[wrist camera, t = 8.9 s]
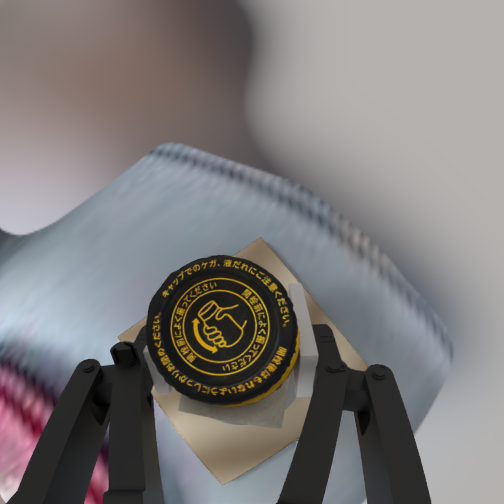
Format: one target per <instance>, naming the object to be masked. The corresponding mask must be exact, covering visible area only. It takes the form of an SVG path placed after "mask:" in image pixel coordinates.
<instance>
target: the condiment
mask: <svg viewBox="0 0 504 504" xmlns="http://www.w3.org/2000/svg"><path fill="white" fill-rule="evenodd" d="M293 306H294V305H293V303H292V301H291V299H290V298H289V297H288V293H287V291H286V289H285V288H284V286H283V285H282V284H281V282H280V281H279V280H278V279H277V278H276V277H275V276H274V275H272V274H271V273H270V272H268V271H267V270H266V269H264V268H263V267H261V266H259V265H258V264H255V263H253V262H252V261H250V260H247V259H243V258H238V257H232V256H227V255H216V256H210V257H207V258H201V259H197V260H195V261H193V262H191V263H189V264H187V265H185V266H183V267H181V268H180V269H179V270H177V271H175V272H173V273H171V274H170V275H169V276H168V278H167V279H166V280H165V281H164V283H163V284H162V286H161V287H160V288H159V290H158V291H157V292H156V294H155V295H154V296H153V298H152V300H151V302H150V305H149V309H148V316H147V320H146V329H145V333H146V345H147V348H148V352H149V354H150V357H151V359H152V361H153V363H154V364H155V366H156V369H157V371H158V372H159V373H160V374H161V375H162V376H163V377H164V380H165V382H166V383H168V384H169V385H170V386H172V387H174V389H175V390H176V391H177V392H179V393H181V396H180V402H179V408H178V411H181V412H185V413H190V414H195V415H199V416H204V417H209V418H213V419H219V420H224V421H230V422H236V423H241V424H247V425H253V426H261V427H268V428H276V429H282V423H283V418H284V411H285V406H286V400H287V393H288V387H289V381H290V374H291V372H292V369H293V368H294V366H295V364H296V361H297V358H298V356H299V344H300V331H299V328H298V324H297V318H296V314H295V312H294V310H293Z"/></svg>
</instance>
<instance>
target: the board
mask: <svg viewBox="0 0 504 504" xmlns="http://www.w3.org/2000/svg"><path fill="white" fill-rule="evenodd" d="M232 257H238V258H243V259H247V260H250V261H252V262H253V263H255V264H258V265H259V266H261V267H263V268H264V269H266V270H267V271H268V272H270V273H271V274H272V275H274V276H275V277H276V278H277V279H278V280H279V281H280V282H281V284H282V285H283V286H284V288H285V289H286V291H287V293H288V292H289V283H299V282H298V281H297V279H296V278H295V277H294V276H293V275H292V273H291V272H290V271H289V270H288V269H287V268H286V266H285V265H284V264H283V263H282V262H281V260H280V259H279V258H278V257H277V256H276V254H275V253H274V252H273V251H272V250H271V249H270V247H269V246H268V245H267V244H266V243H265V242H264V240H263V239H262V238H261V237H260V238H259V239H257V240H256V241H254V242H253V243H251V244H250V245H248V246H247V247H245V248H244V249H243V250H241V251H240V252H238V253H237V254H235V255H234V256H232ZM302 288H303V287H302ZM303 292H304V296H305V300H306V304H307V308H308V312H309V316H310V320H311V324H327V325H328V326H329V327H330V328H331V329H332V331H333V334H334V337H335V340H336V344H337V347H338V350H339V353H340V356H341V360H342V361H344V362H345V363H346V364H347V366H348V367H349V368H351V369H354V370H360V371H366V369H367V368H368V365H367V364H366V363H365V362H364V360H363V359H362V358H361V357H360V356H359V354H358V353H357V352H356V351H355V349H354V348H353V347H352V346H351V345H350V343H349V342H348V341H347V340H346V338H345V337H344V336H343V335H342V334H341V332H340V331H339V330H338V329H337V327H336V326H335V325H334V324H333V323H332V321H331V320H330V319H329V318H328V317H327V315H326V314H325V313H324V312H323V311H322V309H321V308H320V307H319V306H318V305H317V303H316V302H315V301H314V300H313V299H312V297H311V296H310V295H309V294H308V293H307V291H306V290H305V289H304V288H303ZM146 320H147V317H145V318H144V319H142V320H141V321H139V322H138V323H137V324H135V325H134V326H132V327H131V328H130V329H128V330H127V331H125V332H124V333H122V334H121V335H120V336H118V338H119V340H120V342H123V341H130V342H134V341H135V340H136V337H137V335H138V333H139V331H140V330H141V328H142V327H143V326H145V325H146ZM151 393H152V395H153V397H154V398H155V400H156V401H157V403H158V404H159V406H160V407H161V409H162V410H163V412H164V413H165V414H166V416H167V417H168V419H169V420H170V421H171V423H172V424H173V426H174V427H175V428H176V430H177V431H178V432H179V434H180V435H181V436H182V438H183V439H184V440H185V442H186V443H187V444H188V445H189V447H190V448H191V449H192V451H193V452H194V453H195V454H196V456H197V457H198V458H199V459H200V460H201V462H202V463H203V464H204V465H205V466H206V468H207V469H208V470H209V471H210V472H211V473H212V475H213V476H214V477H215V478H216V479H217V480H218V481H219V483H220V484H221V485H224V484H226V483H228V482H230V481H231V480H233V479H235V478H237V477H238V476H240V475H242V474H244V473H245V472H247V471H249V470H250V469H252V468H254V467H255V466H257V465H258V464H260V463H262V462H263V461H265V460H266V459H268V458H269V457H271V456H273V455H274V454H276V453H277V452H279V451H280V450H281V449H283V448H284V447H286V446H287V445H289V444H290V443H292V442H293V441H294V440H296V439H297V438H299V437H300V435H301V432H302V428H303V425H304V421H305V418H306V415H307V411H308V408H309V404H310V400H311V397H296V391H295V382H294V373H293V369H292V372H291V374H290V381H289V387H288V393H287V400H286V406H285V411H284V418H283V423H282V429H276V428H268V427H261V426H253V425H247V424H241V423H236V422H230V421H224V420H219V419H213V418H209V417H204V416H199V415H195V414H190V413H185V412H181V411H178V408H179V402H180V396H181V393H179V392H177V391H176V390H175V389H174V387H172V391H171V394H167V393H158V392H156V391H155V388H154V385H153V388H152V391H151Z"/></svg>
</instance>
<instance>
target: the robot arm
mask: <svg viewBox="0 0 504 504" xmlns="http://www.w3.org/2000/svg"><path fill="white" fill-rule="evenodd" d="M288 297H289V298H290V299H291V301H292V303H293V305H294V306H293V310H294V312H295V314H296V318H297V324H298V328H299V331H300V344H299V356H298V358H297V361H296V364H295V366H294V368H293V373H294V382H295V391H296V397H311V400H310V404H309V408H308V411H307V415H306V418H305V421H304V425H303V428H302V432H301V435H300V438H299V441H298V444H297V448H296V451H295V454H294V457H293V460H292V463H291V466H290V469H289V472H288V475H287V477H286V480H285V483H284V486H283V489H282V491H281V494H280V497H279V499H278V502H277V503H276V504H322V501H323V497H324V493H325V490H326V486H327V482H328V478H329V473H330V469H331V465H332V460H333V456H334V451H335V446H336V442H337V437H338V431H339V426H340V420H341V415H342V410H346V411H353V412H354V416H355V422H356V427H357V433H358V439H359V446H360V452H361V459H362V465H363V473H364V480H365V488H366V496H367V504H431V499H430V495H429V491H428V487H427V482H426V478H425V474H424V471H423V467H422V463H421V459H420V456H419V452H418V449H417V445H416V442H415V439H414V435H413V432H412V429H411V425H410V422H409V419H408V416H407V413H406V410H405V407H404V404H403V401H402V398H401V395H400V392H399V389H398V386H397V384H396V381H395V378H394V375H393V373H392V371H391V370H390V369H389V368H388V367H386V366H384V365H379V364H375V365H371V366H369V367H368V368H367V369H366V371H360V370H354V369H351V368H349V367H348V366H347V364H346V363H345V362H344V361H342V360H341V356H340V353H339V350H338V347H337V344H336V340H335V337H334V334H333V331H332V329H331V328H330V327H329V326H328V325H327V324H311V320H310V316H309V312H308V308H307V304H306V300H305V296H304V292H303V288H302V284H301V283H289V292H288ZM145 329H146V325H145V326H143V327H142V328H141V330H140V331H139V333H138V335H137V337H136V340H135V341H134V342H130V341H123V342H119V343H117V344H115V345H114V346H113V347H112V348H111V350H110V352H111V355H112V358H113V360H114V363H115V364H114V365H107V366H101V365H100V363H99V362H98V361H97V360H95V359H87V360H84V361H82V362H80V363H79V364H78V366H77V367H76V369H75V371H74V373H73V374H72V376H71V378H70V380H69V382H68V384H67V385H66V387H65V389H64V391H63V393H62V395H61V397H60V398H59V400H58V402H57V404H56V406H55V408H54V410H53V412H52V414H51V416H50V418H49V420H48V422H47V424H46V426H45V428H44V430H43V432H42V435H41V437H40V439H39V441H38V443H37V445H36V448H35V450H34V452H33V454H32V457H31V459H30V461H29V463H28V466H27V468H26V471H25V473H24V475H23V478H22V480H21V483H20V485H19V488H18V491H17V492H16V493H15V494H14V495H13V496H12V497H11V498H10V500H9V501H8V502H7V503H6V504H84V501H85V498H86V494H87V491H88V487H89V484H90V480H91V477H92V474H93V470H94V467H95V464H96V461H97V457H98V454H99V451H100V448H101V445H102V442H103V439H104V436H105V433H106V430H107V427H108V424H109V422H110V428H109V489H108V491H106V492H104V495H103V504H165V503H164V496H163V490H162V483H161V476H160V468H159V460H158V451H157V441H156V430H155V418H154V403H153V396H152V393H151V391H152V388H153V385H154V388H155V391H156V392H158V393H167V394H171V391H172V386H170V385H169V384H168V383H166V382H165V380H164V377H163V376H162V375H161V374H160V373H159V372H158V371H157V369H156V366H155V364H154V363H153V361H152V359H151V357H150V354H149V352H148V348H147V345H146V333H145Z"/></svg>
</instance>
